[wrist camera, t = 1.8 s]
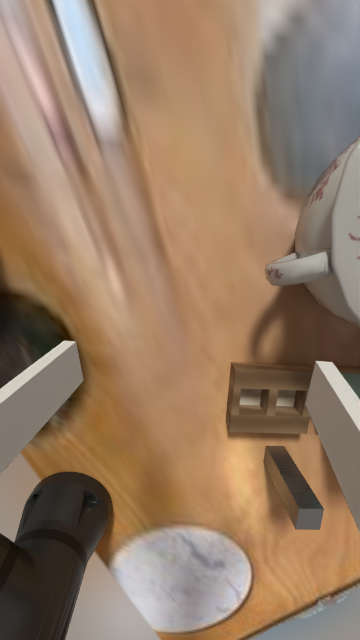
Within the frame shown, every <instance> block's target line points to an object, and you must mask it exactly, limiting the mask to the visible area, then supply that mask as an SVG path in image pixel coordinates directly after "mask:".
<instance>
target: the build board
mask: <svg viewBox="0 0 360 640" xmlns="http://www.w3.org/2000/svg"><path fill="white" fill-rule="evenodd" d="M312 374H313V369H312V368H310V367H309V366H308V365H292V364H265V363H238V362H231V370H230V381H229V391H228V402H227V412H226V424H227V426H228V429H229V432H250V433H288V434H307V429H308V423H309V417H310V414H309V412H308V409H307V407H306V405H305V404H306V399H307V395H308V391H309V387H310V383H311V378H312Z"/></svg>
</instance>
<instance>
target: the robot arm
mask: <svg viewBox="0 0 360 640" xmlns="http://www.w3.org/2000/svg"><path fill="white" fill-rule="evenodd" d="M82 381H83V376H82V371H81V366H80V360H79V355H78V350H77V345H76V342H74V341H63V342H62V343H60V344H59V345H58V346H56V347H55V348H54V349H52V350H51V351H50V352H48V353H47V354H46V355H45V356H43V357H42V358H41V359H39V360H38V361H37V362H35V363H34V364H33V365H31V366H30V367H29V368H27V369H26V370H25V371H23V372H22V373H21V374H19V375H18V376H17V377H15V378H14V379H13V380H11V381H10V382H9V383H7V384H6V385H3V386H1V387H0V475H1V473H2V472H3V471H4V470H5V469H6V468H7V467H8V465H9V464H10V463H11V462H12V461H13V460H14V459H15V457H16V456H17V455H18V454H19V453H20V452H21V451H22V450H23V448H24V447H25V446H26V445H27V444H28V443H29V442H30V440H31V439H32V438H33V437H34V436H35V435H36V434H37V433H38V431H39V430H40V429H41V428H42V427H43V426H44V425H45V423H46V422H47V421H48V420H49V419H50V418H51V417H52V416H53V414H54V413H55V412H56V411H57V410H58V409H59V408H60V406H61V405H62V404H63V403H64V402H65V401H66V400H67V399H68V397H69V396H70V395H71V394H72V393H73V392H74V391H75V389H76V388H77V387H78V386H79V385H80V384H81V383H82ZM305 405H306V407H307V409H308V412H309V414H310V417H311V419H312V421H313V424H314V426H315V428H316V431H317V433H318V435H319V438H320V440H321V443H322V445H323V447H324V450H325V452H326V454H327V457H328V459H329V461H330V464H331V466H332V468H333V471H334V473H335V476H336V478H337V480H338V483H339V485H340V487H341V490H342V492H343V494H344V497H345V499H346V501H347V504H348V506H349V509H350V511H351V513H352V516H353V518H354V520H355V523H356V525H357V527H358V530H359V532H360V399H359V398H358V396H357V395H356V394H355V392H354V391H353V390H352V388H351V387H350V386H349V384H348V383H347V381H346V380H345V379H344V377H343V376H342V375H341V373H340V372H339V371H338V369H337V368H336V366H335V365H334V364H333V362H324V361H316V362H315V366H314V370H313V374H312V378H311V383H310V387H309V391H308V395H307V399H306V404H305ZM111 513H112V502H111V498H110V496H109V493H108V492H107V490H106V489H105V488H104V486H103V485H102V484H101V483H99V482H98V481H97V480H95V479H94V478H92V477H90V476H87V475H85V474H81V473H77V472H61V473H56V474H53V475H51V476H48V477H46V478H45V479H43V480H42V481H41V482H40V483H39V484H38V485H37V486H36V487H35V488H34V490H33V492H32V493H31V495H30V496H29V498H28V500H27V502H26V504H25V507H24V510H23V514H22V518H21V521H20V525H19V529H18V532H17V536H16V540H15V542H14V543H13V542H12V541H11V540H9V539H8V538H6V537H5V536H3V535H2V534H0V640H65V638H66V634H67V631H68V628H69V624H70V621H71V617H72V614H73V610H74V607H75V603H76V600H77V596H78V593H79V590H80V586H81V582H82V579H83V575H84V572H85V568H86V565H87V562H88V560H89V559H90V557H91V555H92V554H93V552H94V550H95V549H96V547H97V545H98V544H99V542H100V540H101V539H102V537H103V535H104V534H105V532H106V530H107V527H108V525H109V521H110V517H111Z"/></svg>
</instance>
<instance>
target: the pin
mask: <svg viewBox="0 0 360 640" xmlns="http://www.w3.org/2000/svg"><path fill="white" fill-rule="evenodd" d="M264 464H265V466H266V468H267V470H268V472H269V474H270V477H271V479H272V481H273V483H274V485H275V487H276V489H277V491H278V493H279V496H280V498H281V500H282V502H283V504H284V506H285V508H286V510H287V512H288V515H289V517H290V519H291V521H292V523H293V525H294V527H295V529H314V530H320V526H321V521H322V516H323V511H324V508H323V507H322V505H321V504H320V502H319V501H318V499H317V497H316V496H315V494H314V493H313V491H312V489H311V488H310V486H309V485H308V483H307V482H306V480H305V478H304V477H303V475H302V474H301V472H300V471H299V469H298V467H297V466H296V464H295V463H294V461H293V460H292V458H291V456H290V455H289V453H288V452H287V450H286V448H285V447H284V446H266V448H265V455H264Z"/></svg>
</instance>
